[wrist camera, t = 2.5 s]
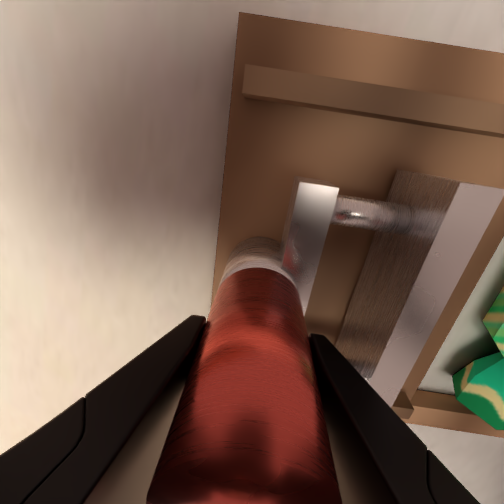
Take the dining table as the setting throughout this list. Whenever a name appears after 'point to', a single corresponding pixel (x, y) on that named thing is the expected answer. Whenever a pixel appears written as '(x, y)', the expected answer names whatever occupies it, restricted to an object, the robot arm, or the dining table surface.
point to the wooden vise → (359, 157)
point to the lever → (297, 342)
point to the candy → (486, 374)
